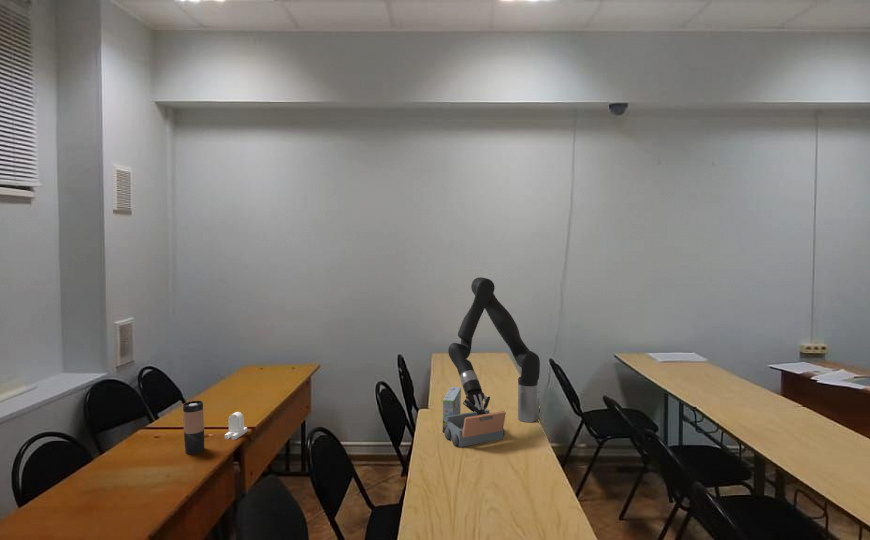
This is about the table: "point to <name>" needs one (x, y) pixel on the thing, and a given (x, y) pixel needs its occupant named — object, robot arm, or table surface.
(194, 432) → the travel mug
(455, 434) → the trailer
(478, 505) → the table surface
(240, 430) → the cable organizer
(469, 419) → the tailgate
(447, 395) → the snack box
